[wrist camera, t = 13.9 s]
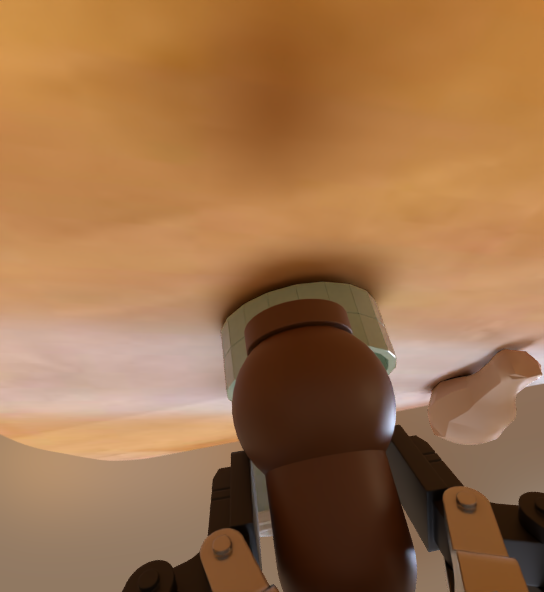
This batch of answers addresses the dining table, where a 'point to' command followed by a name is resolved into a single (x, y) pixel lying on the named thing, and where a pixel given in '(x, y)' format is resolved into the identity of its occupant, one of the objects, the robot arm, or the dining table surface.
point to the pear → (323, 450)
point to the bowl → (350, 297)
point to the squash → (481, 399)
